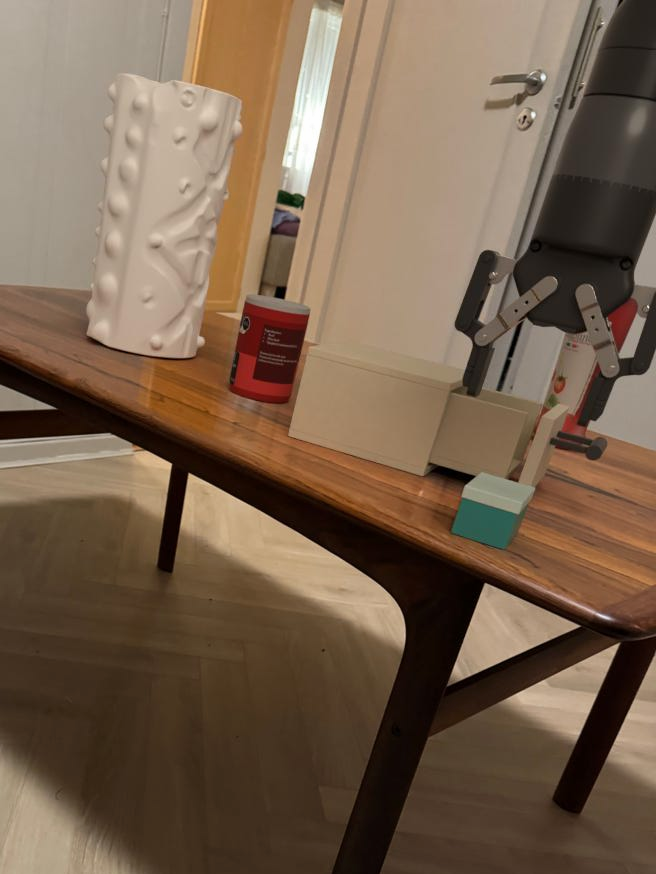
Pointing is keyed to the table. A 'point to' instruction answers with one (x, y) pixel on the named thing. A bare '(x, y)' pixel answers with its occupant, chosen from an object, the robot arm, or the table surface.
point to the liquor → (582, 369)
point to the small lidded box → (492, 510)
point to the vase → (160, 213)
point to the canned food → (268, 348)
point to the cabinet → (373, 404)
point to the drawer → (504, 436)
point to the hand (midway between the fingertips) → (526, 410)
